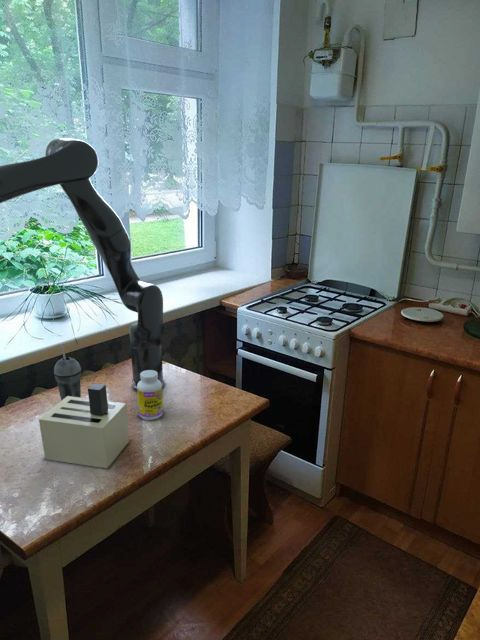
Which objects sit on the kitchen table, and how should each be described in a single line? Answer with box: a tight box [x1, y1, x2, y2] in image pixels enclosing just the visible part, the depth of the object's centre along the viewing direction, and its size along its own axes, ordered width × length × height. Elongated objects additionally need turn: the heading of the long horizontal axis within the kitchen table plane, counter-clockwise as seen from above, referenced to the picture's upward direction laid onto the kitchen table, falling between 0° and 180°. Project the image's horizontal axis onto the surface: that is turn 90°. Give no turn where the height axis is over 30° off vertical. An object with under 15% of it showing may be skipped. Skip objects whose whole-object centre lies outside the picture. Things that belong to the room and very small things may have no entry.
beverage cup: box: [53, 344, 82, 402], centre depth 137 cm, size 7×7×20 cm
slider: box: [87, 382, 108, 416], centre depth 116 cm, size 3×3×7 cm
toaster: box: [38, 396, 130, 469], centre depth 120 cm, size 12×16×11 cm
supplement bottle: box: [136, 370, 164, 421], centre depth 137 cm, size 7×7×13 cm
